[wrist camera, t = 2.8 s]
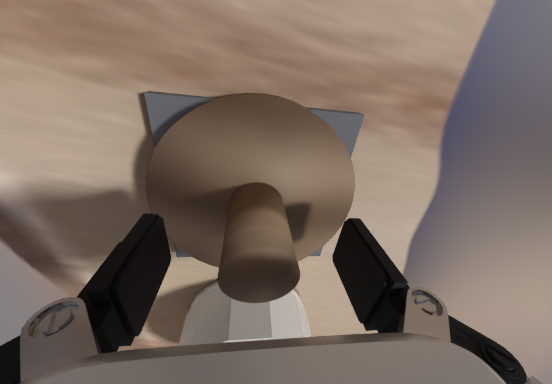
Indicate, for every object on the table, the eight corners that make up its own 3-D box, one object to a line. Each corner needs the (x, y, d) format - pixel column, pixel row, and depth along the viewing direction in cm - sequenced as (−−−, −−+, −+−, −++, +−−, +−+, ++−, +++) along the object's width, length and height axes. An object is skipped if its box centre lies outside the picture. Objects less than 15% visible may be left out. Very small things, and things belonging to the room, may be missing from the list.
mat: (149, 91, 10) (143, 92, 9) (359, 112, 12) (364, 115, 11) (179, 250, 16) (176, 256, 15) (317, 250, 17) (319, 255, 17)
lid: (129, 78, 9) (-24, 94, 4) (375, 106, 11) (485, 140, 6) (170, 261, 15) (130, 358, 10) (324, 259, 17) (355, 342, 12)
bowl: (184, 275, 17) (162, 345, 13) (310, 273, 19) (328, 334, 14) (196, 339, 23) (183, 402, 18) (292, 333, 24) (301, 389, 20)
